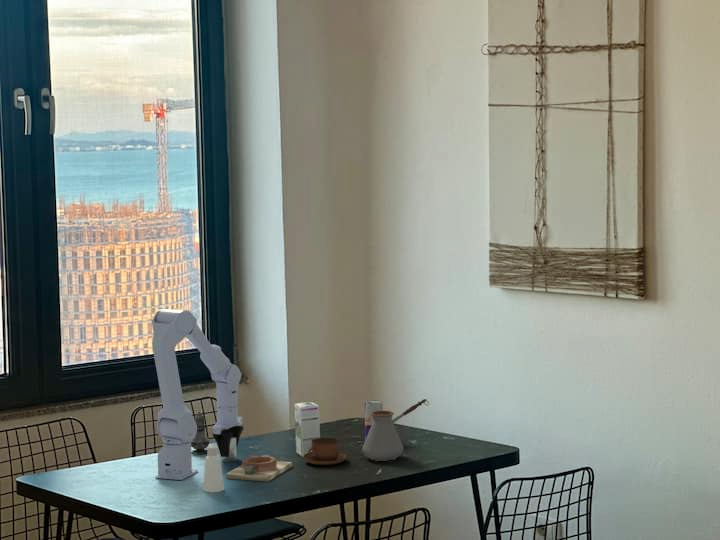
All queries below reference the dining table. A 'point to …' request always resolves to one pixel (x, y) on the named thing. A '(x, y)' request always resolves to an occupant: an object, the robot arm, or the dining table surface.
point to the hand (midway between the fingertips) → (228, 454)
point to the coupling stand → (259, 468)
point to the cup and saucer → (324, 452)
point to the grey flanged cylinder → (200, 437)
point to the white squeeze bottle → (213, 471)
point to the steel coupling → (231, 451)
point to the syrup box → (306, 426)
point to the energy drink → (369, 408)
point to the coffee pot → (385, 436)
